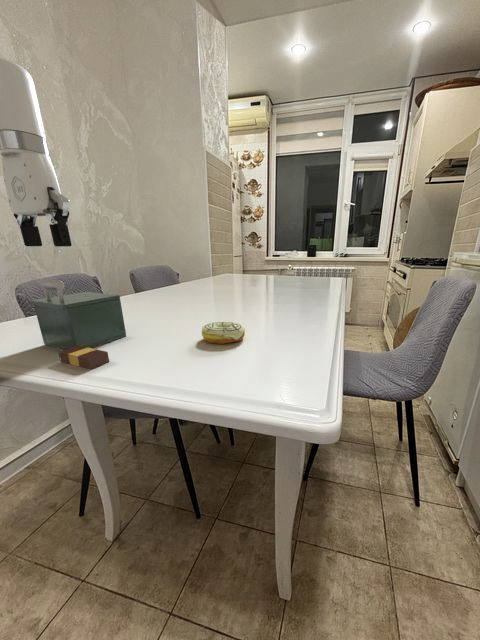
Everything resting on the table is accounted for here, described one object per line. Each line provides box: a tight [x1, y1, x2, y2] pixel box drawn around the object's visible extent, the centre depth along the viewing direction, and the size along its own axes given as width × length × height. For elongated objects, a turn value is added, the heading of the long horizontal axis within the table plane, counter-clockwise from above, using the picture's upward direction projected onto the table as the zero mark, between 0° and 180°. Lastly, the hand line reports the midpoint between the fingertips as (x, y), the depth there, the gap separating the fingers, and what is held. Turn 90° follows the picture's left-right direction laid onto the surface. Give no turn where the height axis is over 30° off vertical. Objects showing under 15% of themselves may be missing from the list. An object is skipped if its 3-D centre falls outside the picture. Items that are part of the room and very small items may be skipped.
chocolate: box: [58, 346, 110, 370], centre depth 59 cm, size 9×4×2 cm, turn 66°
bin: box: [33, 298, 127, 350], centre depth 70 cm, size 13×12×10 cm
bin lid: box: [27, 279, 121, 309], centre depth 67 cm, size 14×12×5 cm
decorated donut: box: [201, 321, 246, 345], centre depth 73 cm, size 10×11×4 cm
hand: (48, 246), depth 60 cm, fingers open, 9 cm apart
